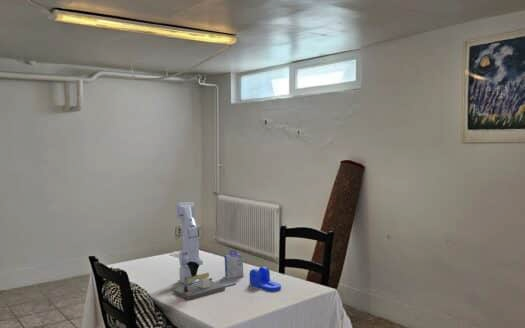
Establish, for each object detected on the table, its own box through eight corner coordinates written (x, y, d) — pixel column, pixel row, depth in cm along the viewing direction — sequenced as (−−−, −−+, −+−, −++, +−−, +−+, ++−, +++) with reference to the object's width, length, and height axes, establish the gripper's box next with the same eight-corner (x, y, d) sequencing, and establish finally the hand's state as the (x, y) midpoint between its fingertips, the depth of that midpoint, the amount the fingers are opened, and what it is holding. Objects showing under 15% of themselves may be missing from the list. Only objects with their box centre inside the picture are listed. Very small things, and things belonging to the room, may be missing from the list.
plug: (198, 290, 245) (198, 278, 245) (209, 287, 250) (208, 275, 249) (203, 292, 242) (202, 279, 242) (214, 289, 246) (213, 277, 246)
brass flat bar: (183, 290, 238) (182, 278, 238) (207, 284, 247) (207, 272, 247) (185, 291, 236) (184, 279, 236) (209, 285, 246) (209, 273, 245)
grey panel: (173, 293, 241) (173, 288, 241) (209, 283, 256) (209, 279, 255) (188, 300, 231) (188, 295, 231) (225, 289, 245) (224, 285, 245)
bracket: (249, 285, 253) (249, 268, 252) (261, 281, 258) (261, 265, 258) (272, 292, 239) (272, 275, 239) (284, 289, 245) (283, 271, 244)
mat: (212, 284, 255) (212, 283, 255) (225, 280, 261) (225, 279, 261) (221, 288, 248) (221, 287, 248) (235, 284, 254) (235, 283, 254)
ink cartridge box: (240, 273, 273) (240, 249, 272) (244, 276, 268) (243, 251, 267) (224, 276, 269) (223, 251, 269) (227, 278, 264) (226, 253, 264)
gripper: (179, 249, 247) (180, 274, 248) (194, 253, 236) (194, 280, 236) (190, 246, 251) (191, 272, 252) (205, 251, 240) (206, 277, 241)
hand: (194, 276), depth 245 cm, fingers closed
